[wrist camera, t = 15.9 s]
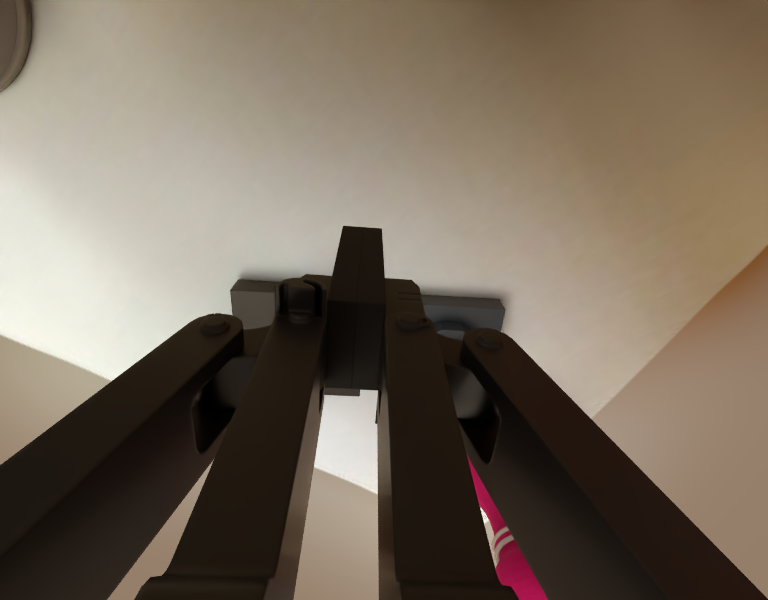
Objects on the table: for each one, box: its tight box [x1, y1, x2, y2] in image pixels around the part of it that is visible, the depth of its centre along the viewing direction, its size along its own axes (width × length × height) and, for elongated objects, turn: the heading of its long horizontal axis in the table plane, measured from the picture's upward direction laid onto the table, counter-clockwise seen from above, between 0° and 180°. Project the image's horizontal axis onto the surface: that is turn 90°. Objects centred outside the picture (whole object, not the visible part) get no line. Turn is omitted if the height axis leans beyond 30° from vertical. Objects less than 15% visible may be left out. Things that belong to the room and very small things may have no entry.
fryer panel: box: [230, 280, 360, 396], centre depth 43 cm, size 12×11×3 cm
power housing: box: [421, 295, 505, 341], centre depth 43 cm, size 10×10×4 cm
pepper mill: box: [467, 456, 548, 600], centre depth 41 cm, size 7×7×20 cm
